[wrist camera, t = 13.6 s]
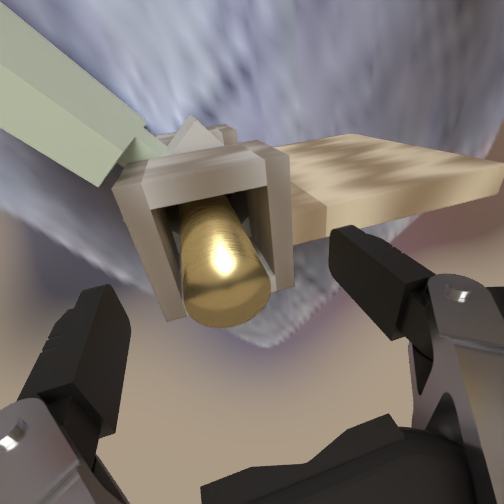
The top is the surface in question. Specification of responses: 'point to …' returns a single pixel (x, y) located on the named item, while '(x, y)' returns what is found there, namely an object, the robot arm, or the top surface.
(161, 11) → the top surface
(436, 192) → the fixed leaf
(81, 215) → the top surface
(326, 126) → the top surface
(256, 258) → the brass pin
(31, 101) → the swinging leaf
